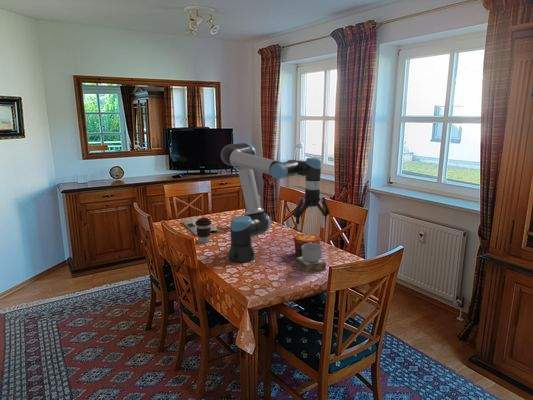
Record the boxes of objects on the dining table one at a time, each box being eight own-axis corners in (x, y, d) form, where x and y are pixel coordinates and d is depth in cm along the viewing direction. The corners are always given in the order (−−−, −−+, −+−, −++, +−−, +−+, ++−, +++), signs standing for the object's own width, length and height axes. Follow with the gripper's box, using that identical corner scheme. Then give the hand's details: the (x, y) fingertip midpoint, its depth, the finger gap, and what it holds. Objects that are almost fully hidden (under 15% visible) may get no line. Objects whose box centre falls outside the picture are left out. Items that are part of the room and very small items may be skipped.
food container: (294, 249, 223) (294, 232, 221) (320, 251, 221) (321, 233, 218) (291, 259, 208) (291, 240, 206) (320, 260, 205) (320, 242, 203)
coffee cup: (207, 244, 231) (206, 221, 228) (193, 243, 234) (192, 220, 231) (214, 240, 240) (213, 217, 237) (201, 238, 243) (200, 216, 240)
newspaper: (181, 223, 280) (181, 219, 280) (206, 220, 289) (205, 216, 288) (195, 236, 248) (195, 232, 248) (222, 232, 257) (222, 228, 256)
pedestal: (304, 272, 189) (305, 265, 188) (295, 264, 200) (295, 256, 199) (325, 269, 193) (325, 262, 192) (315, 261, 204) (315, 254, 203)
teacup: (321, 265, 188) (321, 250, 187) (300, 263, 191) (300, 248, 189) (322, 255, 202) (323, 241, 200) (302, 253, 204) (303, 240, 202)
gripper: (292, 191, 180) (291, 232, 185) (337, 188, 188) (335, 228, 193) (287, 188, 187) (286, 228, 192) (330, 185, 195) (328, 224, 200)
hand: (310, 228), depth 192 cm, fingers open, 13 cm apart
